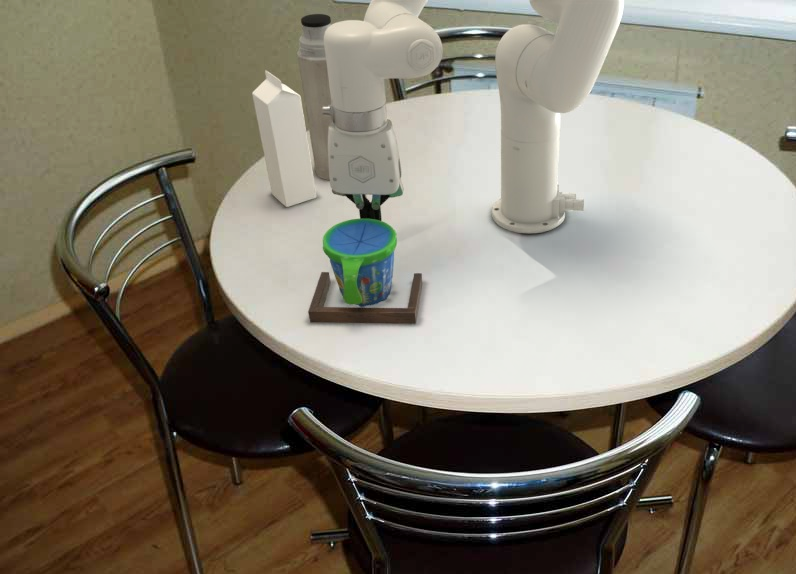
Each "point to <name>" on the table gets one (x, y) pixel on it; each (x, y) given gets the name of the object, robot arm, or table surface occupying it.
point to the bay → (363, 314)
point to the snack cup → (362, 259)
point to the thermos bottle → (316, 86)
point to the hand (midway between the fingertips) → (371, 227)
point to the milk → (284, 141)
